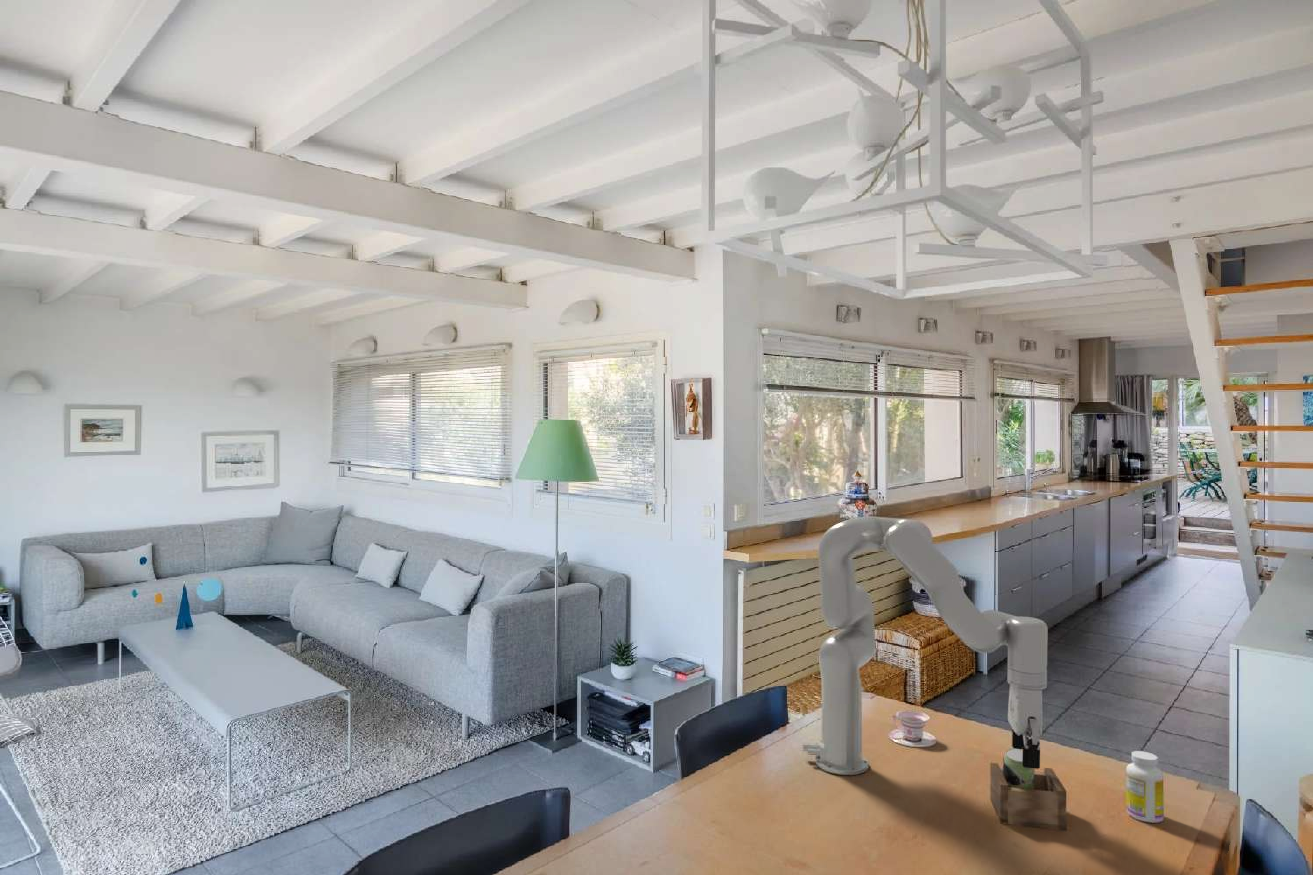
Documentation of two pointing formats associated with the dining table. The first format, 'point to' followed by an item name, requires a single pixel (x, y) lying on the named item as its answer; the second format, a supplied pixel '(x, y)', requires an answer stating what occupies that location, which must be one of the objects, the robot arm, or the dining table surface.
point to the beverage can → (1017, 770)
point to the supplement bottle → (1144, 788)
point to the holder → (1029, 800)
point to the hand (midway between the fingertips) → (1025, 757)
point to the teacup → (912, 729)
